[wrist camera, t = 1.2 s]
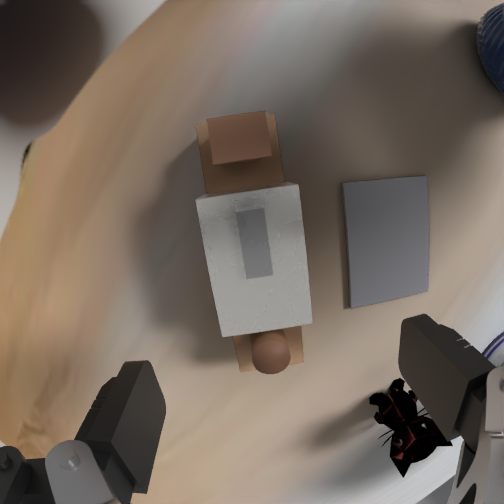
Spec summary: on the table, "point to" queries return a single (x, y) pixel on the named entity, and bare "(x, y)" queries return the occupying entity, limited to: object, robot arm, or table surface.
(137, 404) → the robot arm
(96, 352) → the table surface
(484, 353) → the vase
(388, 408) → the cat figurine
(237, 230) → the lever cap
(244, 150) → the plane body
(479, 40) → the lamp
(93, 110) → the table surface
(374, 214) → the felt mat
